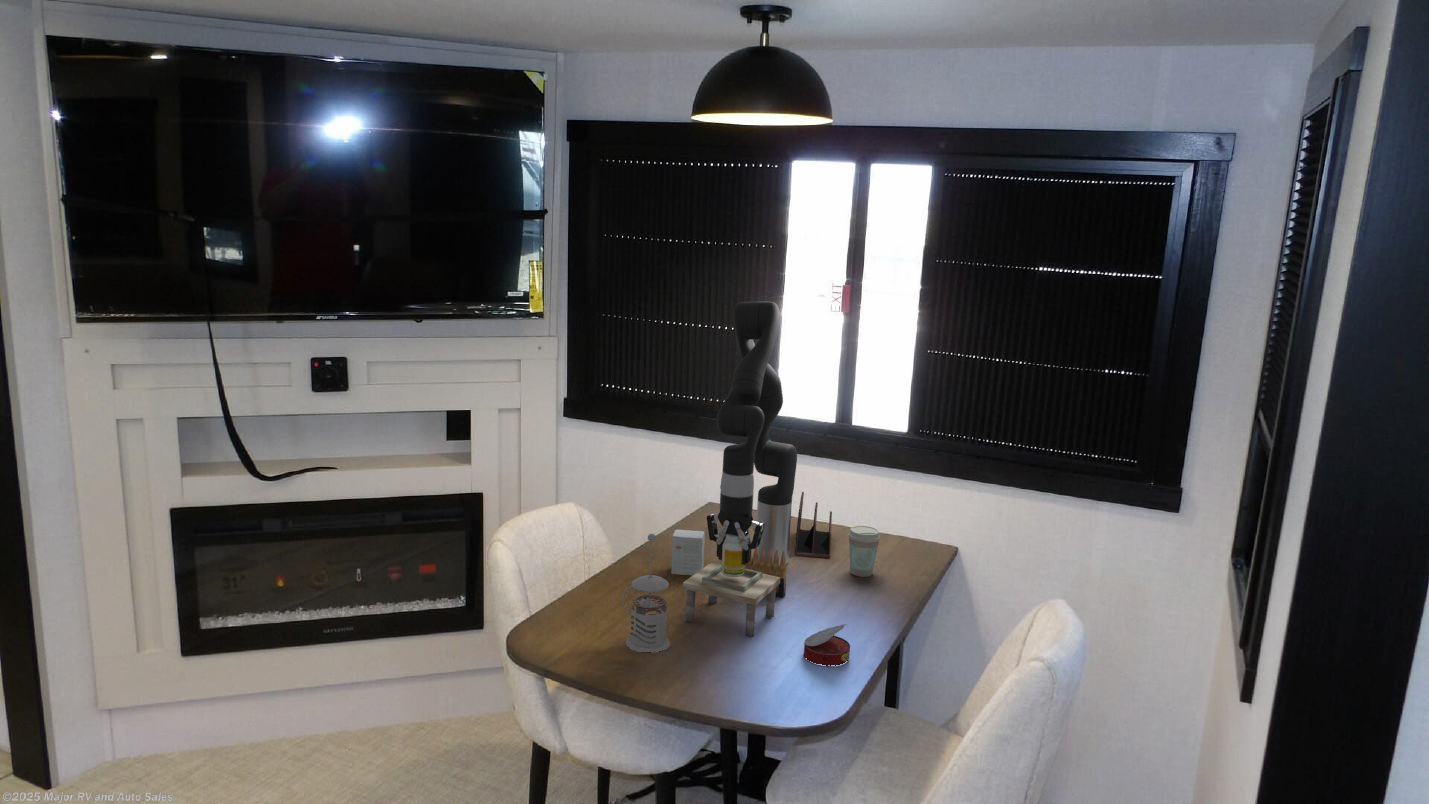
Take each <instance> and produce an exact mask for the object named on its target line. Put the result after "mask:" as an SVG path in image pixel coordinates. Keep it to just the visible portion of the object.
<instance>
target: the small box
mask: <svg viewBox="0 0 1429 804" xmlns="http://www.w3.org/2000/svg"><path fill="white" fill-rule="evenodd" d="M671 539H672V540H671V541H672V542H671V575H679V576H680V575H681V576H682V575H683V576H693V575H694V574H696V573H697V572H699V571H700V570H702V569H703V568H704V567H705V565H704V561H705V531H701V530H689V529H675V530H674V532H673V534H672V537H671Z"/></svg>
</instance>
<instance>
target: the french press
mask: <svg viewBox="0 0 1429 804" xmlns="http://www.w3.org/2000/svg"><path fill="white" fill-rule="evenodd" d="M647 540H648V541H651V543H650V568H649V574H648V575H647V574H646V575H643V576H638V577H636V578H635V579H633V580H632V582H631V586H628V587H626V588H625V590H624V591H623V594H622V595H621V596H622V597H621V598H622V601H621V602H622V607H623V610H624V612H625V613H626V615H627V616H628V617H629V618H630V636H629V637H628V638H627V639H626V641H625V645H626V647H627V648H628V647H629V648H628V649H630V650H631V651H634V650H635V651H634V652H637V653H641V652H655V653H660V652H659V651H661V652H663V651H665V650H668V648H670V646H671V641H670V639H669V638H668V637H667V619H668V618H667V616H668V606H667V605H666V604H667V601H666V599H665V598H664V597H661V596H659V595H654V594H655V593H661V592H663V591H666V590H667V589H668V588H669V586H670V583H669V582H668V580H667V579H665V578H663V577H661V576H658V575H653V574H652V559H653V541H656V540H657V535H656V534H655V533H649V534H648V535H647ZM631 588H632V592H633V593H636V592H642V593H643V592H644V593H649V594H644V595H639V596H636V597H635V598H634V599H633V600H632V604H633V605H630V604H629V593H630V590H631ZM626 592H627V594H626ZM652 593H654V594H652ZM625 594H626V602H627V606H628V610H629V611H630V612H631V615H630V614H629V612H628V611H627V610H626V608H625V604H624V603H625V602H624V599H625V598H624V597H625ZM635 608H636V609H635ZM660 609H661V610H660ZM650 612H655V613H650ZM647 613H648V614H647ZM649 613H650V614H649ZM656 613H658V614H656ZM634 623H635V624H634ZM634 629H635V630H634ZM669 645H670V646H669ZM667 647H668V648H667ZM662 650H663V651H662Z"/></svg>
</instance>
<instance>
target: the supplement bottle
mask: <svg viewBox="0 0 1429 804" xmlns="http://www.w3.org/2000/svg"><path fill="white" fill-rule="evenodd" d="M743 549H744V548H743V544H742V542H741V541H740V539H739V536H737V535H735V534H728V533H726V539H725V541H724V543H723V547H722V560H721V563H720V564H721V572H722V574H723V575H725V576H728V577H740V576H742V575H743V574H744V569H745V565H742V557H743Z"/></svg>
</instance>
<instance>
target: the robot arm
mask: <svg viewBox="0 0 1429 804" xmlns="http://www.w3.org/2000/svg"><path fill="white" fill-rule="evenodd" d="M732 318H733V319H732V320H733V321H732V322H733V329H734V333H735V338H736V342H737V346H738V350H739V355H740V359H741V360H740V361H739V362H738V364H737V365H736V367H735V369H734V373H733V377H732V382H731V386H730V391H729V392H728V395H727V397H726V398H725V400H724V401H723V403H722V405H721V406H720V409H719V410H718V412H717V416H716V426H717V429H718V431H719V432H720V434H722V435H726V436H732V437H733V436H734V437H745V438H746V441H744V442H742V443H736V444H731V445H727V446H726V447H725V448H724V449H723V454H722V455H723V456H722V473H721V479H720V486H719V487H720V488H719V489H720V490H719V491H720V492H719V493H720V495H719V513H715V512H712V513H710V514H708V515H707V516H706V523H707V531H708V532H707V533H708V539H709V540H710V541H713V542H715V544H716V557H717V559H718V560H719V561H722V547H723V543H724V542H725V541H726V533H728V534H735V535H737V536H739V539H740V541H741V542H742V544H743V548H744V549H743V557H742V565H746V564H748V563H749V562H750V560H751V561H752V550H755V548H756V547H757V549H758V562H759V563H760V555H761V551H762V548H764V550H765V564H766V563H767V555H768V551H769V549H771V552H772V568H773V563H774V555H775V552H776V550H778V554H779V567H780V562H781V556H782V552H783V551H784V552H785V556H786V565H787V564H788V563H789V551H790V538H791V537H790V535H791V523H792V522H791V521H792V520H791V519H792V507H793V505H792V502H793V494H794V490H795V482H796V481H795V480H796V472H797V463H798V452H797V448H796V446H794V445H793V444H790V443H786V442H779V441H772V440H771V438H770V428H771V425H772V424H773V422H774V420H775V419H776V418H777V416H778V414H779V413H780V412H781V410H782V407H783V404H784V397H783V396H784V395H783V389H782V382H781V377H780V376H779V374H778V373H777V371H776V370H775V369H774V368H773V367H772V365H771V364H770V363H769V361H770V358H771V355H772V354H773V350H774V348H775V344H776V342H777V339H778V337H779V333H780V327H781V313H780V309H779V305H778V304H777V303H776V302H774V301H768V300H767V301H764V300H763V301H762V300H761V301H743V302H738V303H737V304H735V306H734V308H733V315H732ZM755 340H758V341H757V343H755V342H754V341H755ZM754 470H756V472H757V473H759V474H761V475H764V476H769V477H775V478H778V479H777V483H776V484H771V485H766V486H763V487H761V488H759V490H758V492H757V508H756V521H754V517H753V511H754V510H753V509H754V507H753V505H754V490H755V489H754V487H755V479H754V478H755V477H754ZM718 522H719V524H720V525H721V528H720V531H719V529H718ZM751 527H752V531H753V536H752V535H751V532H750V528H751ZM751 537H752V538H751Z"/></svg>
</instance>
